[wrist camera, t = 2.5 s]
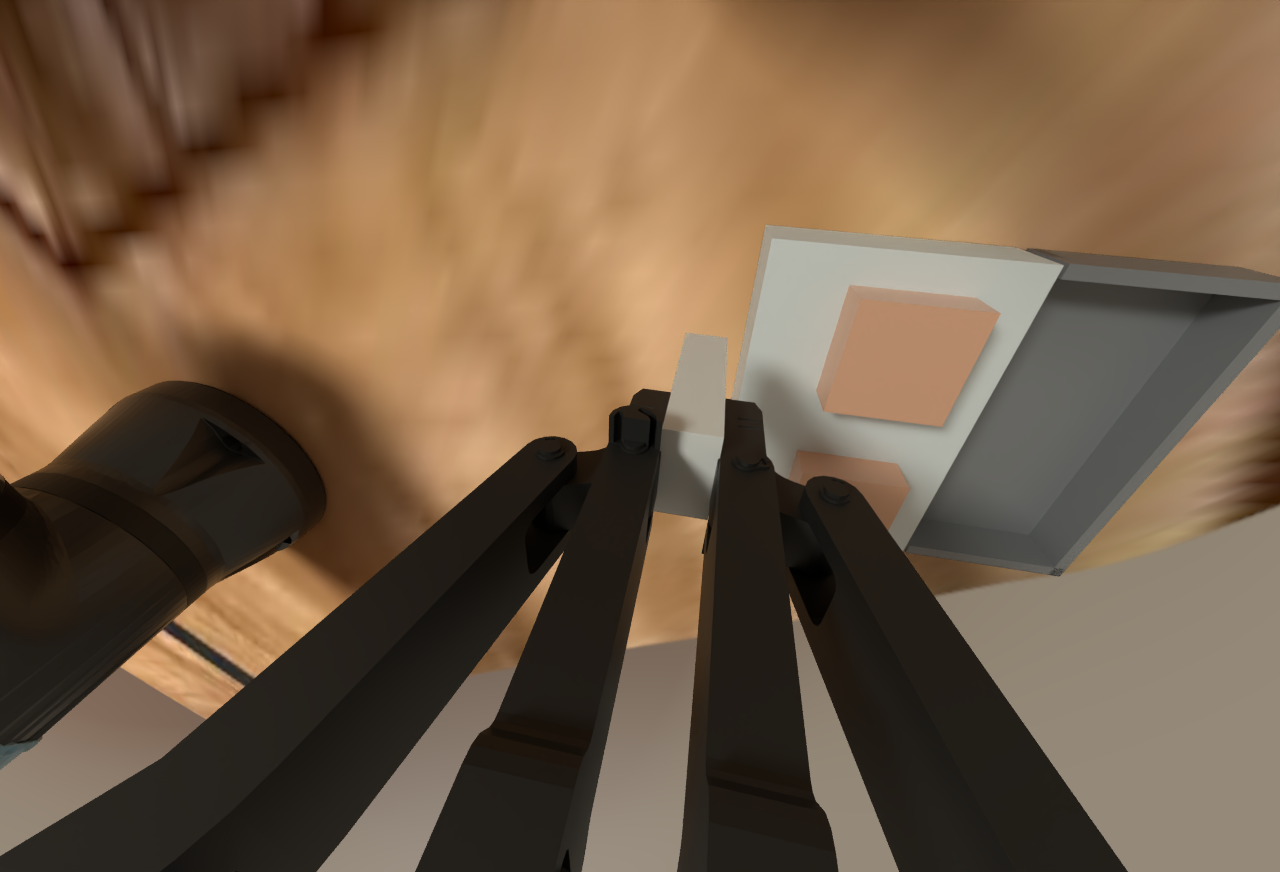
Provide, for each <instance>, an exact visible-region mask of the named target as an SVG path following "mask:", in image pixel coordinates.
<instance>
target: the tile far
mask: <svg viewBox="0 0 1280 872" xmlns="http://www.w3.org/2000/svg"><path fill="white" fill-rule="evenodd" d="M817 476H830V477H836V478H838V479H842V480H844V481H846V482H848V483H850V484H851V485H853V486H855V487H856V488H857V489H858V490H859V491H860V492H861V493H862V494H863V496H864V497H865V499H866V500H867V502H868V503H869V504H870V506H871V507H872V509H873V510H874V512H875V513H876V514H877V516H878V517H879V519H880V520H881V521H882V523H883V524H884V526H885V527H886V529H887V530H888V531H889V529H890V527H891V525H892V523H893V521H894V519H895V517H896V515H897V513H898V511H899V509H900V508H901V506H902V504H903V502H904V500H905V498H906V496H907V494H908V492H909V490H910V487H909V485H908V483H907V482H906V480H905V478H904V476H903V474H902V472H901V470H900V468H899V466H898V464H896V463H889V462H881V461H874V460H867V459H860V458H852V457H845V456H838V455H830V454H823V453H816V452H809V451H801V450H797V453H796V456H795V459H794V462H793V466H792V469H791V472H790V475H789V478H788V479H789V480H791V481H793V482H796V483H799V484H802V485H804V486H805V485H806V483H807V481H808V480H809V479H811V478H813V477H817Z"/></svg>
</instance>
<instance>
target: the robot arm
mask: <svg viewBox="0 0 1280 872" xmlns="http://www.w3.org/2000/svg"><path fill="white" fill-rule="evenodd" d="M726 366H727V338H726V337H717V336H709V335H701V334H693V333H686V335H685V339H684V343H683V347H682V351H681V355H680V359H679V363H678V367H677V371H676V375H675V379H674V383H673V387H672V391H671V392H664V391H657V390H649V389H642V390H640V391H639V392H638V393H636V394H635V395H634V396H633V398H632V401H631V403H630V405H628V406H622V407H619V408H617V409H615V410H613V411H612V412H611V414H610V415H609V443H608V445H607V447H606V448H603V449H600V450H596V451H586V452H577V449H576V446H575V445H574V444H573V442H571V441H569V440H567V439H565V438H561V437H556V436H551V437H550V436H549V437H542V438H539V439H535V440H533V441H532V442H530V443H528V444H527V445H526V446H525V447H524V448H522V449H521V450H520V451H519V452H518V453H517V454H515V455H514V456H513V457H512V458H511V459H510V460H508V461H507V462H506V463H505V464H504V465H503V466H501V467H500V468H499V469H498V470H497V471H496V472H494V473H493V474H492V475H491V476H490V477H489V478H487V479H486V480H485V481H484V482H483V483H482V484H480V485H479V486H478V487H477V488H476V489H475V490H473V491H472V492H471V493H470V494H469V495H468V496H466V497H465V498H464V499H463V500H462V501H461V502H459V503H458V504H457V505H456V506H455V507H454V508H452V509H451V510H450V511H449V512H448V513H447V514H445V515H444V516H443V517H442V518H441V519H440V520H438V521H437V522H436V523H435V524H434V525H433V526H432V527H430V528H429V529H428V530H427V531H426V532H425V533H423V534H422V535H421V536H420V537H419V538H418V539H416V540H415V541H414V542H413V543H412V544H411V545H409V546H408V547H407V548H406V549H405V550H404V551H402V552H401V553H400V554H399V555H398V556H397V557H395V558H394V559H393V560H392V561H391V562H390V563H388V564H387V565H386V566H385V567H384V568H383V569H381V570H380V571H379V572H378V573H377V574H376V575H374V576H373V577H372V578H371V579H370V580H369V581H367V582H366V583H365V584H364V585H363V586H362V587H360V588H359V589H358V590H357V591H356V592H355V593H353V594H352V595H351V596H350V597H349V598H348V599H346V600H345V601H344V602H343V603H342V604H341V605H339V606H338V607H337V608H336V609H335V610H334V611H332V612H331V613H330V614H329V615H328V616H327V617H325V618H324V619H323V620H322V621H321V622H320V623H319V624H317V625H316V626H315V627H314V628H313V629H312V630H310V631H309V632H308V633H307V634H306V635H305V636H303V637H302V638H301V639H300V640H299V641H298V642H296V643H295V644H294V645H293V646H292V647H291V648H289V649H288V650H287V651H286V652H285V653H284V654H282V655H281V656H280V657H279V658H278V659H277V660H275V661H274V662H273V663H272V664H271V665H270V666H268V667H267V668H266V669H265V670H264V671H263V672H261V673H260V674H259V675H258V676H257V677H256V678H254V679H253V680H252V681H251V682H250V683H249V684H247V685H246V686H245V687H244V688H243V689H242V690H240V691H239V692H238V693H237V694H236V695H235V696H233V697H232V698H231V699H230V700H229V701H228V702H226V703H225V704H224V705H223V706H222V707H221V708H219V709H218V710H217V711H216V712H215V713H214V714H212V715H211V716H210V717H209V718H208V719H207V720H206V721H204V722H203V723H202V724H201V725H200V726H199V727H197V728H196V729H195V730H194V731H193V732H192V733H190V734H189V735H188V736H187V737H186V738H185V739H183V740H182V741H181V742H180V743H179V744H178V745H176V747H174V748H173V749H172V750H171V751H170V752H168V753H167V754H166V755H165V756H164V757H162V758H161V759H160V760H158V761H156V762H155V763H153V764H152V765H150V766H148V767H146V768H145V769H143V770H142V771H140V772H138V773H137V774H135V775H133V776H132V777H130V778H128V779H127V780H125V781H123V782H122V783H120V784H119V785H117V786H115V787H113V788H112V789H110V790H108V791H107V792H105V793H104V794H102V795H100V796H99V797H97V798H95V799H94V800H92V801H90V802H89V803H87V804H85V805H84V806H83V807H80V808H79V809H77V810H75V811H74V812H72V813H71V814H69V815H67V816H66V817H64V818H62V819H61V820H59V821H58V822H56V823H54V824H52V825H51V826H49V827H47V828H46V829H44V830H43V831H41V832H39V833H38V834H36V835H34V836H33V837H31V838H29V839H28V840H26V841H24V842H23V843H21V844H19V845H18V846H16V847H14V848H13V849H11V850H10V851H8V852H6V853H5V854H3V855H1V856H0V872H316V871H317V870H318V869H319V868H320V867H321V865H322V864H323V863H324V862H325V860H326V859H327V858H328V857H329V856H330V854H331V853H332V852H333V851H334V849H335V848H336V847H337V846H338V845H339V843H340V842H341V841H342V840H343V839H344V837H345V836H346V835H347V834H348V832H349V831H350V830H351V828H352V827H353V826H354V824H355V823H356V822H357V820H358V819H359V818H360V816H361V815H362V814H363V813H364V811H365V810H366V809H367V807H368V806H369V805H370V803H371V802H372V801H373V799H374V798H375V797H376V796H377V794H378V793H379V792H380V790H381V789H382V788H383V786H384V785H385V784H386V783H387V781H388V780H389V779H390V777H391V776H392V775H393V773H394V772H395V771H396V769H397V768H398V767H399V765H400V764H401V763H402V762H403V760H404V759H405V758H406V756H407V755H408V754H409V753H410V751H411V750H412V749H413V747H414V746H415V744H416V743H417V742H418V741H419V739H420V738H421V737H422V736H423V734H424V733H425V732H426V730H427V729H428V728H429V726H430V725H431V724H432V723H433V721H434V720H435V719H436V717H437V716H438V715H439V713H440V712H441V711H442V709H443V708H444V707H445V705H446V704H447V703H448V702H449V700H450V699H451V698H452V696H453V695H454V694H455V692H456V691H457V690H458V689H459V687H460V686H461V684H462V683H463V682H464V681H465V679H466V678H467V677H468V676H469V674H470V673H471V672H472V670H473V669H474V668H475V666H476V665H477V664H478V662H479V661H480V660H481V659H482V657H483V656H484V655H485V653H486V652H487V651H488V649H489V648H490V647H491V645H492V644H493V643H494V642H495V640H496V639H497V638H498V636H499V635H500V634H501V632H502V631H503V630H504V629H505V627H506V626H507V625H508V623H509V622H510V621H511V619H512V618H513V617H514V615H515V614H516V613H517V612H518V610H519V609H520V608H521V606H522V605H523V604H524V602H525V601H526V600H527V598H528V597H529V596H530V595H531V593H532V592H533V591H534V589H535V588H536V587H537V585H538V584H539V583H540V582H541V580H542V579H543V578H544V576H545V575H546V574H547V572H548V571H549V570H550V568H551V567H552V566H553V565H554V563H555V562H556V561H557V559H558V558H559V557H560V555H561V554H562V553H563V551H564V553H563V555H562V558H561V560H560V562H559V565H558V567H557V570H556V572H555V575H554V577H553V580H552V582H551V584H550V587H549V589H548V592H547V594H546V597H545V599H544V602H543V604H542V607H541V609H540V611H539V614H538V616H537V619H536V621H535V624H534V626H533V629H532V631H531V633H530V636H529V638H528V641H527V643H526V646H525V648H524V651H523V653H522V655H521V658H520V660H519V663H518V665H517V668H516V670H515V673H514V675H513V677H512V680H511V682H510V685H509V687H508V690H507V692H506V695H505V697H504V699H503V702H502V704H501V707H500V709H499V712H498V714H497V716H496V718H495V720H494V722H493V723H492V725H491V726H490V727H489V728H487V729H486V730H484V731H482V732H481V733H480V734H479V735H478V736H477V738H476V739H475V740H474V742H473V743H472V745H471V747H470V749H469V751H468V753H467V755H466V757H465V759H464V761H463V763H462V765H461V767H460V770H459V772H458V774H457V777H456V779H455V781H454V783H453V786H452V788H451V790H450V793H449V795H448V797H447V800H446V802H445V804H444V807H443V809H442V811H441V814H440V816H439V818H438V820H437V823H436V825H435V827H434V830H433V832H432V834H431V837H430V839H429V841H428V843H427V846H426V848H425V850H424V853H423V855H422V857H421V860H420V862H419V864H418V867H417V869H416V871H415V872H581V871H582V866H583V861H584V855H585V849H586V843H587V836H588V829H589V823H590V817H591V812H592V807H593V802H594V797H595V793H596V788H597V783H598V778H599V774H600V769H601V764H602V759H603V755H604V750H605V745H606V740H607V736H608V731H609V726H610V721H611V716H612V711H613V707H614V702H615V698H616V693H617V688H618V683H619V678H620V674H621V669H622V664H623V659H624V654H625V650H626V645H627V640H628V636H629V631H630V626H631V621H632V617H633V612H634V607H635V602H636V598H637V593H638V588H639V583H640V579H641V574H642V569H643V564H644V560H645V555H646V550H647V545H648V540H649V536H650V531H651V526H652V518H653V510H654V511H657V512H663V513H669V514H675V515H681V516H687V517H693V518H699V519H705V520H708V524H707V529H706V534H705V539H704V544H703V549H702V554H704V560H703V573H702V586H701V599H700V612H699V625H698V637H697V651H696V664H695V677H694V689H693V703H692V716H691V728H690V741H689V754H688V766H687V779H686V793H685V805H684V818H683V830H682V841H681V849H680V856H679V862H678V869H677V872H838V865H837V858H836V851H835V846H834V841H833V836H832V831H831V827H830V824H829V821H828V819H827V816H826V813H825V811H824V810H823V809H822V808H821V807H820V806H819V804H818V803H817V802H816V800H815V798H814V795H813V791H812V786H811V780H810V771H809V763H808V754H807V745H806V737H805V728H804V719H803V711H802V702H801V693H800V685H799V677H798V667H797V659H796V650H795V643H794V633H793V625H792V616H791V607H790V598H789V594H790V597H791V599H792V602H793V604H794V607H795V609H796V612H797V614H798V617H799V620H800V622H801V625H802V627H803V629H804V632H805V635H806V637H807V640H808V642H809V645H810V647H811V650H812V652H813V655H814V657H815V660H816V663H817V665H818V668H819V670H820V673H821V675H822V678H823V680H824V683H825V685H826V688H827V690H828V693H829V695H830V698H831V700H832V703H833V706H834V708H835V711H836V713H837V716H838V718H839V721H840V723H841V726H842V728H843V731H844V733H845V736H846V738H847V741H848V743H849V746H850V748H851V751H852V754H853V756H854V758H855V761H856V764H857V766H858V769H859V771H860V774H861V776H862V779H863V781H864V784H865V786H866V789H867V791H868V794H869V796H870V799H871V802H872V804H873V807H874V809H875V812H876V814H877V817H878V819H879V822H880V824H881V827H882V829H883V832H884V835H885V837H886V839H887V842H888V845H889V847H890V849H891V852H892V855H893V857H894V860H895V862H896V865H897V867H898V870H899V872H1128V871H1127V870H1126V868H1125V867H1124V866H1123V864H1122V863H1121V861H1120V860H1119V859H1118V857H1117V856H1116V855H1115V853H1114V852H1113V850H1112V849H1111V847H1110V846H1109V844H1108V843H1107V841H1106V840H1105V839H1104V837H1103V836H1102V834H1101V833H1100V832H1099V830H1098V829H1097V827H1096V826H1095V825H1094V823H1093V822H1092V820H1091V819H1090V817H1089V816H1088V814H1087V813H1086V812H1085V810H1084V809H1083V807H1082V806H1081V804H1080V803H1079V802H1078V800H1077V799H1076V797H1075V796H1074V795H1073V793H1072V792H1071V790H1070V789H1069V788H1068V786H1067V785H1066V783H1065V782H1064V780H1063V779H1062V777H1061V776H1060V775H1059V773H1058V772H1057V770H1056V769H1055V768H1054V766H1053V765H1052V763H1051V762H1050V760H1049V759H1048V758H1047V756H1046V755H1045V753H1044V752H1043V750H1042V749H1041V748H1040V746H1039V745H1038V743H1037V742H1036V741H1035V739H1034V738H1033V736H1032V735H1031V733H1030V732H1029V731H1028V729H1027V728H1026V726H1025V725H1024V723H1023V722H1022V721H1021V719H1020V718H1019V716H1018V715H1017V713H1016V712H1015V711H1014V709H1013V708H1012V706H1011V705H1010V704H1009V702H1008V701H1007V699H1006V698H1005V697H1004V695H1003V694H1002V692H1001V691H1000V689H999V688H998V686H997V685H996V684H995V682H994V681H993V680H992V678H991V676H990V675H989V674H988V672H987V671H986V669H985V668H984V667H983V665H982V664H981V662H980V661H979V659H978V658H977V657H976V655H975V654H974V652H973V651H972V649H971V648H970V647H969V645H968V644H967V642H966V641H965V640H964V638H963V637H962V635H961V634H960V632H959V631H958V630H957V628H956V627H955V625H954V624H953V623H952V621H951V620H950V618H949V617H948V615H947V614H946V612H945V611H944V610H943V608H942V607H941V605H940V604H939V603H938V601H937V600H936V598H935V597H934V595H933V594H932V593H931V591H930V590H929V588H928V587H927V585H926V584H925V583H924V581H923V580H922V578H921V577H920V576H919V574H918V573H917V571H916V570H915V568H914V567H913V566H912V564H911V563H910V561H909V560H908V558H907V557H906V556H905V554H904V553H903V551H902V550H901V548H900V547H899V546H898V544H897V543H896V541H895V540H894V539H893V537H892V536H891V534H890V533H889V531H888V530H887V529H886V527H885V526H884V524H883V523H882V521H881V520H880V519H879V517H878V516H877V514H876V513H875V512H874V510H873V509H872V507H871V506H870V504H869V503H868V502H867V500H866V499H865V497H864V496H863V494H862V493H861V492H860V491H859V490H858V489H857V488H856V487H855V486H853V485H851V484H850V483H848V482H846V481H844V480H842V479H838V478H836V477H830V476H817V477H813V478H811V479H809V480H808V481H807V483H806V485H805V486H804V485H802V484H799V483H796V482H793V481H791V480H789V479H786V478H784V477H782V476H781V475H779V474H778V473H776V472H775V469H774V465H773V463H772V461H771V460H770V459H769V458H768V457H767V454H766V444H765V434H764V424H763V414H762V411H761V410H760V408H759V407H758V406H757V405H756V404H755V403H754V402H747V401H739V400H732V399H725V395H726ZM324 510H325V493H324V489H323V486H322V483H321V480H320V478H319V476H318V474H317V472H316V470H315V468H314V467H313V465H312V463H311V462H310V460H309V459H308V458H307V456H306V455H305V454H304V452H303V451H302V450H301V449H300V448H299V446H298V445H297V444H296V443H295V442H294V441H293V440H292V439H291V438H290V437H289V436H288V435H287V434H286V433H285V432H284V431H283V430H282V429H281V428H279V427H278V426H277V425H276V424H275V423H273V422H272V421H271V420H270V419H268V418H267V417H266V416H264V415H263V414H262V413H260V412H259V411H257V410H256V409H254V408H252V407H251V406H249V405H248V404H246V403H244V402H242V401H241V400H239V399H237V398H235V397H233V396H231V395H229V394H226V393H224V392H222V391H219V390H217V389H214V388H211V387H208V386H205V385H201V384H197V383H192V382H185V381H166V382H161V383H158V384H155V385H153V386H150V387H148V388H146V389H143V390H141V391H139V392H137V393H134V394H132V395H130V396H127V397H125V398H124V399H122V400H120V401H119V402H117V403H116V404H115V405H114V406H113V407H111V408H110V409H109V410H108V411H107V412H106V413H105V414H104V415H103V416H102V417H101V418H99V419H98V420H97V421H96V422H95V423H94V424H93V425H92V426H90V427H89V428H88V429H87V430H86V431H85V432H84V433H83V434H82V435H81V436H79V437H78V438H77V439H76V440H75V441H74V442H73V443H72V444H71V445H70V446H69V447H67V448H66V449H65V450H64V451H63V452H62V453H61V454H60V455H59V456H58V457H56V458H55V459H54V460H53V461H52V462H51V463H50V464H48V465H47V466H45V467H44V468H42V469H40V470H38V471H36V472H34V473H32V474H30V475H28V476H26V477H24V478H22V479H20V480H18V481H16V482H14V483H12V484H9V483H8V482H7V481H6V480H5V478H4V477H3V476H2V475H1V474H0V770H1V769H2V768H3V767H4V766H6V765H7V764H8V763H10V762H11V761H12V760H13V759H15V758H16V757H17V756H18V755H20V754H21V753H22V752H25V751H28V750H30V749H31V748H33V747H34V746H35V745H36V744H37V743H38V742H39V741H40V740H41V739H42V735H43V734H45V733H46V732H47V731H48V730H49V729H50V728H51V727H52V726H54V725H55V724H56V723H57V722H58V721H59V720H60V719H61V718H63V717H64V716H65V715H66V714H67V713H68V712H69V711H71V710H72V709H73V708H74V707H75V706H76V705H77V704H79V703H80V702H81V701H82V700H83V699H84V698H85V697H86V696H87V695H88V694H90V693H91V692H92V691H93V690H94V689H95V688H97V687H98V686H99V685H100V684H101V683H102V682H103V681H104V680H105V679H107V678H108V677H109V676H110V675H111V674H112V673H114V672H115V671H116V670H117V669H118V668H119V667H120V666H121V665H123V664H124V663H125V662H126V661H127V660H128V659H129V658H130V657H132V656H133V655H134V654H135V653H136V652H137V651H138V650H140V649H141V648H142V647H143V646H144V645H145V644H146V643H148V642H149V641H150V640H151V639H152V638H153V637H154V636H156V635H157V634H158V633H159V632H160V631H161V630H162V629H164V628H165V627H166V626H167V625H168V624H169V623H170V622H172V621H173V620H174V619H175V618H176V617H177V616H178V615H179V614H181V613H182V612H183V611H184V610H185V609H186V608H187V607H188V606H190V605H191V604H192V603H193V602H194V601H195V600H196V599H198V598H199V597H200V596H201V595H202V594H203V593H205V592H206V591H207V590H208V589H209V588H210V587H212V586H213V585H215V584H216V583H218V582H220V581H222V580H224V579H226V578H228V577H230V576H232V575H234V574H236V573H238V572H240V571H242V570H244V569H246V568H248V567H250V566H252V565H254V564H255V563H257V562H259V561H261V560H263V559H265V558H267V557H269V556H270V555H272V554H274V553H275V552H277V551H280V550H283V549H285V548H287V547H289V546H291V545H293V544H294V543H295V542H297V541H298V540H300V539H301V538H302V537H303V536H304V535H305V534H306V533H307V532H308V531H309V530H310V529H311V528H312V527H314V526H315V525H316V524H317V523H318V522H319V520H320V519H321V518H322V516H323V513H324ZM708 516H709V518H708Z"/></svg>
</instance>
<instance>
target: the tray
mask: <svg viewBox="0 0 1280 872" xmlns="http://www.w3.org/2000/svg"><path fill="white" fill-rule="evenodd" d="M1026 251H1027V252H1030V253H1032V254H1035V255H1038V256H1040V257H1043V258H1046V259H1048V260H1051V261H1054V262H1056V263H1059V264H1062V265H1064V266H1063V268H1062V270H1061V272H1060V274H1059V275H1058V277H1057V279H1056V281H1055V282H1054V284H1053V286H1052V288H1051V289H1050V291H1049V293H1048V295H1047V297H1046V298H1045V300H1044V302H1043V304H1042V305H1041V307H1040V309H1039V311H1038V313H1037V314H1036V316H1035V318H1034V320H1033V321H1032V323H1031V325H1030V327H1029V329H1028V330H1027V332H1026V334H1025V336H1024V337H1023V339H1022V341H1021V343H1020V345H1019V346H1018V348H1017V350H1016V352H1015V353H1014V355H1013V357H1012V359H1011V361H1010V362H1009V364H1008V366H1007V368H1006V369H1005V371H1004V373H1003V375H1002V377H1001V378H1000V380H999V382H998V384H997V385H996V387H995V389H994V391H993V393H992V394H991V396H990V398H989V400H988V401H987V403H986V405H985V407H984V409H983V410H982V412H981V414H980V416H979V417H978V419H977V421H976V423H975V425H974V426H973V428H972V430H971V432H970V433H969V435H968V437H967V439H966V441H965V442H964V444H963V446H962V448H961V449H960V451H959V453H958V455H957V456H956V458H955V460H954V462H953V464H952V465H951V467H950V469H949V471H948V472H947V474H946V476H945V478H944V480H943V481H942V483H941V485H940V487H939V488H938V490H937V492H936V494H935V496H934V497H933V499H932V501H931V503H930V504H929V506H928V508H927V510H926V512H925V513H924V515H923V517H922V519H921V520H920V522H919V524H918V526H917V528H916V529H915V531H914V533H913V535H912V536H911V538H910V540H909V542H908V544H907V545H906V547H905V549H904V550H905V552H906V553H912V554H918V555H925V556H931V557H938V558H944V559H950V560H957V561H963V562H970V563H976V564H983V565H989V566H996V567H1002V568H1008V569H1015V570H1021V571H1028V572H1034V573H1041V574H1047V575H1053V576H1060V575H1061V574H1062V573H1063V572H1064V571H1065V570H1066V569H1067V568H1068V566H1069V565H1070V564H1071V563H1072V562H1073V561H1074V560H1075V558H1076V557H1077V556H1078V555H1079V554H1080V553H1081V552H1082V551H1083V549H1084V548H1085V547H1086V546H1087V545H1088V544H1089V543H1090V542H1091V540H1092V539H1093V538H1094V537H1095V536H1096V535H1097V534H1098V533H1099V531H1100V530H1101V529H1102V528H1103V527H1104V526H1105V525H1106V523H1107V522H1108V521H1109V520H1110V519H1111V518H1112V517H1113V516H1114V514H1115V513H1116V512H1117V511H1118V510H1119V509H1120V508H1121V507H1122V505H1123V504H1124V503H1125V502H1126V501H1127V500H1128V499H1129V498H1130V496H1131V495H1132V494H1133V493H1134V492H1135V491H1136V490H1137V489H1138V487H1139V486H1140V485H1141V484H1142V483H1143V482H1144V481H1145V479H1146V478H1147V477H1148V476H1149V475H1150V474H1151V473H1152V472H1153V470H1154V469H1155V468H1156V467H1157V466H1158V465H1159V464H1160V463H1161V461H1162V460H1163V459H1164V458H1165V457H1166V456H1167V455H1168V454H1169V452H1170V451H1171V450H1172V449H1173V448H1174V447H1175V446H1176V445H1177V443H1178V442H1179V441H1180V440H1181V439H1182V438H1183V437H1184V435H1185V434H1186V433H1187V432H1188V431H1189V430H1190V429H1191V428H1192V426H1193V425H1194V424H1195V423H1196V422H1197V421H1198V420H1199V419H1200V417H1201V416H1202V415H1203V414H1204V413H1205V412H1206V411H1207V410H1208V408H1209V407H1210V406H1211V405H1212V404H1213V403H1214V402H1215V401H1216V399H1217V398H1218V397H1219V396H1220V395H1221V394H1222V393H1223V391H1224V390H1225V389H1226V388H1227V387H1228V386H1229V385H1230V384H1231V382H1232V381H1233V380H1234V379H1235V378H1236V377H1237V376H1238V375H1239V373H1240V372H1241V371H1242V370H1243V369H1244V368H1245V367H1246V366H1247V364H1248V363H1249V362H1250V361H1251V360H1252V359H1253V358H1254V357H1255V355H1256V354H1257V353H1258V352H1259V351H1260V350H1261V349H1262V347H1263V346H1264V345H1265V344H1266V343H1267V342H1268V341H1269V340H1270V338H1271V337H1272V336H1273V335H1274V334H1275V333H1276V332H1277V331H1278V329H1279V328H1280V277H1277V276H1273V275H1269V274H1265V273H1261V272H1257V271H1253V270H1249V269H1245V268H1241V267H1231V266H1220V265H1209V264H1197V263H1186V262H1175V261H1164V260H1153V259H1142V258H1131V257H1119V256H1108V255H1097V254H1086V253H1075V252H1064V251H1052V250H1041V249H1030V248H1027V250H1026Z"/></svg>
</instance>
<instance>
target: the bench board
mask: <svg viewBox="0 0 1280 872" xmlns="http://www.w3.org/2000/svg"><path fill="white" fill-rule="evenodd" d="M1063 266H1064V265H1062V264H1059V263H1056V262H1054V261H1051V260H1048V259H1046V258H1043V257H1040V256H1038V255H1035V254H1032V253H1030V252H1027V251H1024V250H1022V249H1019V248H1016V247H1008V246H997V245H985V244H974V243H963V242H952V241H941V240H930V239H919V238H907V237H896V236H885V235H874V234H863V233H852V232H840V231H829V230H818V229H807V228H796V227H785V226H774V225H766V227H765V232H764V237H763V242H762V247H761V252H760V257H759V262H758V267H757V272H756V277H755V282H754V287H753V292H752V297H751V302H750V307H749V313H748V318H747V323H746V328H745V333H744V338H743V343H742V348H741V353H740V358H739V363H738V368H737V373H736V378H735V383H734V388H733V393H732V400H739V401H747V402H754V403H755V404H756V405H757V406H758V407H759V408H760V410H761V411H762V414H763V424H764V434H765V444H766V454H767V457H768V458H769V459H770V460H771V461H772V463H773V465H774V469H775V472H776V473H778V474H779V475H781V476H782V477H784V478H786V479H788V478H789V475H790V472H791V469H792V466H793V462H794V459H795V456H796V453H797V450H801V451H809V452H816V453H823V454H830V455H838V456H845V457H852V458H860V459H867V460H874V461H881V462H889V463H896V464H898V466H899V468H900V470H901V472H902V474H903V476H904V478H905V480H906V482H907V483H908V485H909V487H910V490H909V492H908V494H907V496H906V498H905V500H904V502H903V504H902V506H901V508H900V509H899V511H898V513H897V515H896V517H895V519H894V521H893V523H892V525H891V527H890V529H889V533H890V534H891V536H892V537H893V539H894V540H895V541H896V543H897V544H898V546H899V547H900V548H901V550H902V551H904V549H905V547H906V545H907V544H908V542H909V540H910V538H911V536H912V535H913V533H914V531H915V529H916V528H917V526H918V524H919V522H920V520H921V519H922V517H923V515H924V513H925V512H926V510H927V508H928V506H929V504H930V503H931V501H932V499H933V497H934V496H935V494H936V492H937V490H938V488H939V487H940V485H941V483H942V481H943V480H944V478H945V476H946V474H947V472H948V471H949V469H950V467H951V465H952V464H953V462H954V460H955V458H956V456H957V455H958V453H959V451H960V449H961V448H962V446H963V444H964V442H965V441H966V439H967V437H968V435H969V433H970V432H971V430H972V428H973V426H974V425H975V423H976V421H977V419H978V417H979V416H980V414H981V412H982V410H983V409H984V407H985V405H986V403H987V401H988V400H989V398H990V396H991V394H992V393H993V391H994V389H995V387H996V385H997V384H998V382H999V380H1000V378H1001V377H1002V375H1003V373H1004V371H1005V369H1006V368H1007V366H1008V364H1009V362H1010V361H1011V359H1012V357H1013V355H1014V353H1015V352H1016V350H1017V348H1018V346H1019V345H1020V343H1021V341H1022V339H1023V337H1024V336H1025V334H1026V332H1027V330H1028V329H1029V327H1030V325H1031V323H1032V321H1033V320H1034V318H1035V316H1036V314H1037V313H1038V311H1039V309H1040V307H1041V305H1042V304H1043V302H1044V300H1045V298H1046V297H1047V295H1048V293H1049V291H1050V289H1051V288H1052V286H1053V284H1054V282H1055V281H1056V279H1057V277H1058V275H1059V274H1060V272H1061V270H1062V268H1063ZM849 285H856V286H866V287H876V288H886V289H895V290H905V291H915V292H925V293H935V294H945V295H955V296H965V297H975V298H978V299H979V300H981V301H982V302H984V303H985V304H987V305H989V306H990V307H992V308H993V309H995V310H996V311H998V312H1000V313H1001V314H1000V316H999V318H998V320H997V322H996V324H995V326H994V328H993V330H992V332H991V333H990V335H989V337H988V339H987V341H986V343H985V345H984V347H983V349H982V351H981V353H980V355H979V357H978V359H977V361H976V363H975V364H974V366H973V368H972V370H971V372H970V374H969V376H968V378H967V380H966V382H965V384H964V386H963V388H962V390H961V392H960V393H959V395H958V397H957V399H956V401H955V403H954V405H953V407H952V409H951V411H950V413H949V415H948V417H947V419H946V421H945V422H944V424H943V426H942V427H939V426H932V425H924V424H916V423H908V422H900V421H893V420H885V419H877V418H869V417H861V416H854V415H846V414H838V413H830V412H823V409H822V406H821V403H820V401H819V398H818V395H817V392H816V389H817V386H818V383H819V380H820V376H821V373H822V370H823V367H824V364H825V360H826V357H827V354H828V351H829V348H830V344H831V341H832V338H833V335H834V332H835V329H836V325H837V322H838V319H839V316H840V313H841V309H842V306H843V303H844V300H845V297H846V294H847V290H848V287H849Z"/></svg>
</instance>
